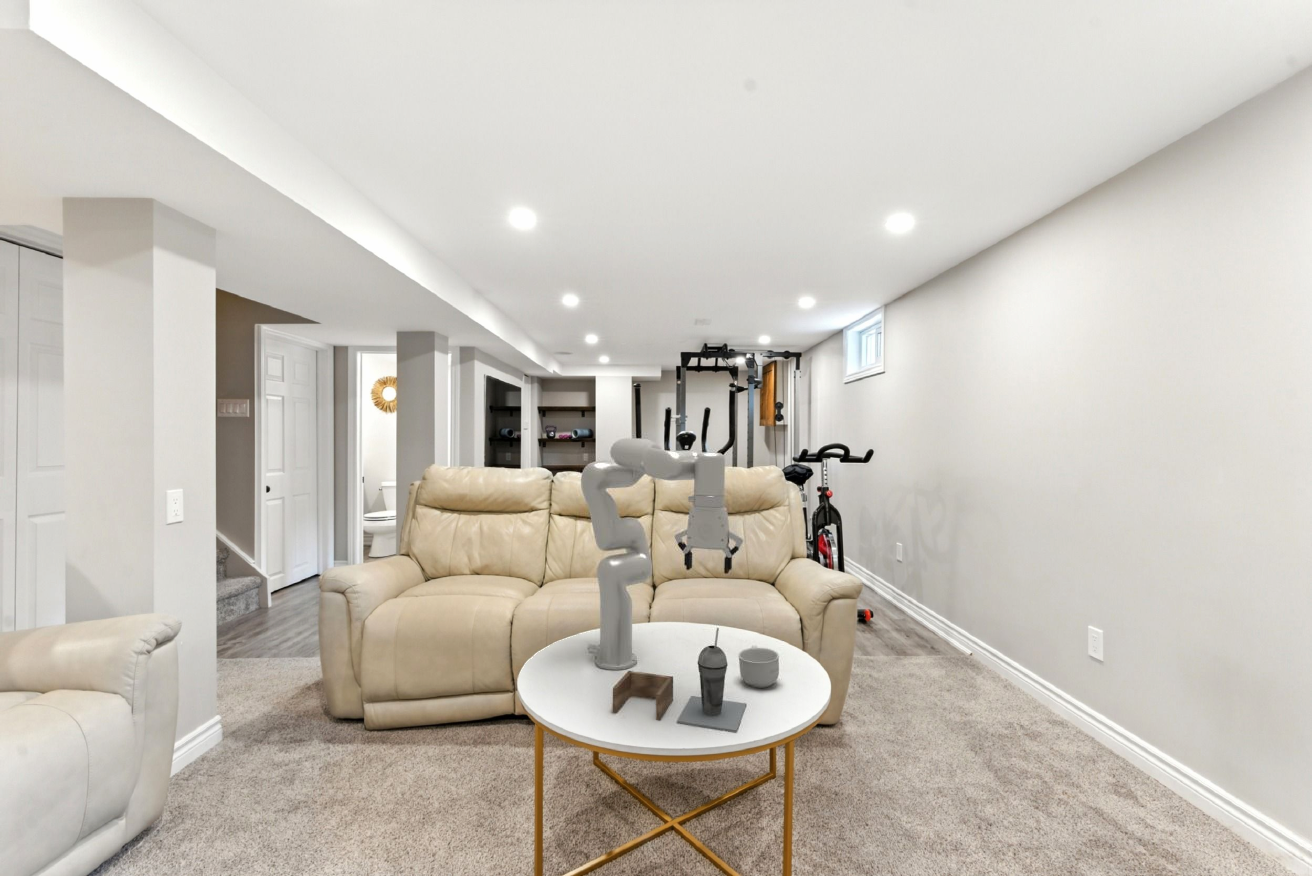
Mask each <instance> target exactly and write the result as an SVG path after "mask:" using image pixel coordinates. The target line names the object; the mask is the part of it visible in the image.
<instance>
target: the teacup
mask: <svg viewBox="0 0 1312 876" xmlns="http://www.w3.org/2000/svg"><path fill="white" fill-rule="evenodd" d="M779 658H780V654H779V653H778V652H777V650H774V649H771V648H768V647H767V648H766V647H758V646H757V645H751V647H749V648H745V649H742V650H741V651H739V652H738V661H739V672H740V676H741V679H742V680H743V681H744V682H745V683H746V684H747V685H749V686H751V687H754V688H759V689H760V688H768V687H770V686H772V685H773V684H774V683H775V682H776V681H777V680H778V678H779V676H780V675H779V674H780V662H779V660H780V659H779Z"/></svg>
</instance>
